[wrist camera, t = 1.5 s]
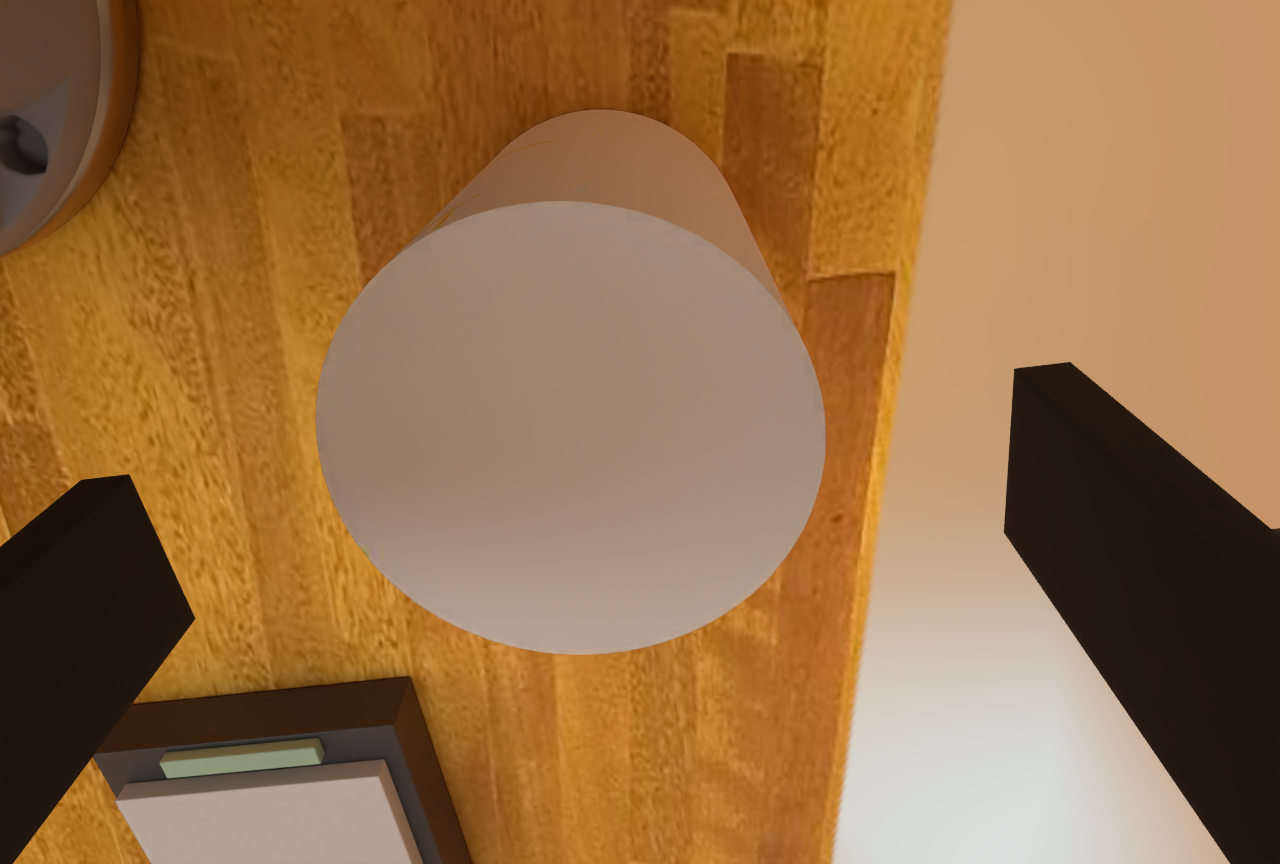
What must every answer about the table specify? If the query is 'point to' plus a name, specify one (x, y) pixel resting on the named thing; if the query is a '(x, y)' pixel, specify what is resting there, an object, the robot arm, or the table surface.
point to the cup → (576, 398)
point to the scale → (284, 778)
